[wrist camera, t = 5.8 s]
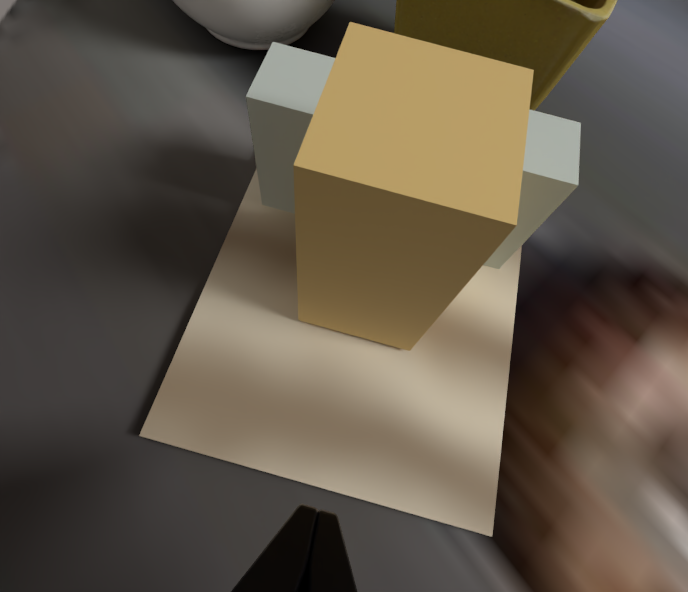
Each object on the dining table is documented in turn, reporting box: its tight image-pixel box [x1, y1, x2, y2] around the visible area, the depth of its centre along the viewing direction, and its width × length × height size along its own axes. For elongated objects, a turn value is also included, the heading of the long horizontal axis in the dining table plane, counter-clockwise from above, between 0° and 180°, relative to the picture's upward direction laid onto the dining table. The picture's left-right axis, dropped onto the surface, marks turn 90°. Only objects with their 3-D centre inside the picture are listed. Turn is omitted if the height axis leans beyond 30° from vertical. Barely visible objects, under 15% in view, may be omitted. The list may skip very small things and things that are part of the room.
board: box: [139, 168, 522, 537], centre depth 20 cm, size 17×14×1 cm
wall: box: [246, 42, 581, 269], centre depth 18 cm, size 3×12×6 cm, turn 75°
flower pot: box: [394, 0, 617, 110], centre depth 22 cm, size 9×9×9 cm
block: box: [293, 22, 534, 351], centre depth 15 cm, size 8×5×10 cm, turn 165°
